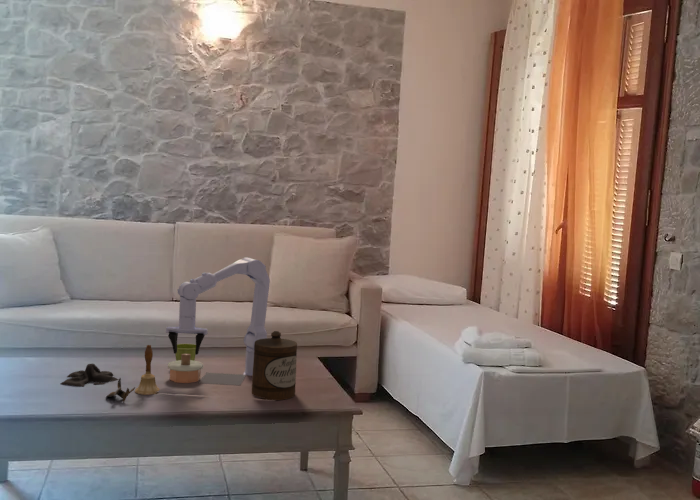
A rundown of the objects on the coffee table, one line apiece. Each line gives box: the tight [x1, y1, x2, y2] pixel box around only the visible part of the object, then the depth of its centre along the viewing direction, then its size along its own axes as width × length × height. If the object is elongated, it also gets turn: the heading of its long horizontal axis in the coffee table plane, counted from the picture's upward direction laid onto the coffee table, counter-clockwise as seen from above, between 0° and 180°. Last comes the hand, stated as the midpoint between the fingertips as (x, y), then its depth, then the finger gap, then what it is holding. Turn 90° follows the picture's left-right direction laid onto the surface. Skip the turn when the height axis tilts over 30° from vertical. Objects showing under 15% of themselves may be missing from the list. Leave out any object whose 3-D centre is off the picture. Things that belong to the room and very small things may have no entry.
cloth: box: [60, 363, 119, 388], centre depth 263 cm, size 22×19×6 cm
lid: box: [167, 354, 204, 371], centre depth 267 cm, size 12×12×4 cm
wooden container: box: [251, 330, 298, 401], centre depth 256 cm, size 15×15×22 cm
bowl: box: [169, 369, 202, 384], centre depth 268 cm, size 10×10×5 cm
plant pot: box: [175, 343, 196, 361], centre depth 285 cm, size 9×9×9 cm
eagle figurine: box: [105, 377, 136, 403], centre depth 241 cm, size 8×7×9 cm
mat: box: [197, 372, 247, 387], centre depth 271 cm, size 15×15×1 cm
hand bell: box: [134, 344, 160, 396], centre depth 251 cm, size 8×8×16 cm
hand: (186, 353), depth 267 cm, fingers open, 7 cm apart
